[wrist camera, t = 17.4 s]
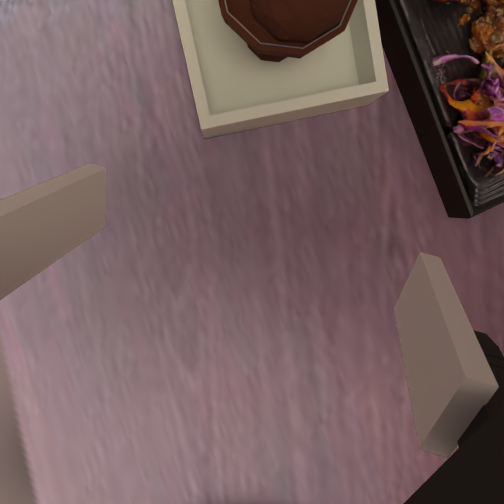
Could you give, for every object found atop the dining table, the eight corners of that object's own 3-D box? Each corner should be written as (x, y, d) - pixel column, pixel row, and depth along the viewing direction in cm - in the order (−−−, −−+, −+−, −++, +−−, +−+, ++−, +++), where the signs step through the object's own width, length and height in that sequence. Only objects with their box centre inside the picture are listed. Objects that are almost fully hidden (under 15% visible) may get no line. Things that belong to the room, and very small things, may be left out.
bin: (339, -77, 37) (356, -120, 32) (368, 105, 39) (388, 90, 34) (164, -44, 36) (154, -82, 31) (204, 139, 39) (201, 129, 34)
